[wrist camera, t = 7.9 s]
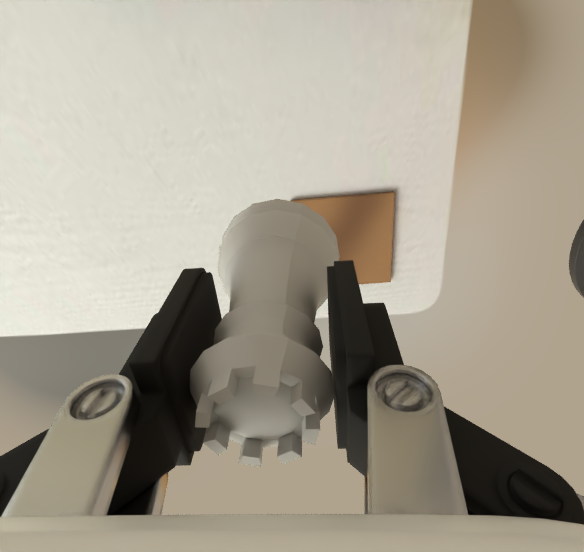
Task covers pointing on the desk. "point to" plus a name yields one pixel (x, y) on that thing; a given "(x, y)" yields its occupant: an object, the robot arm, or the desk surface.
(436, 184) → the desk surface
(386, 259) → the coaster
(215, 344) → the rook chess piece
